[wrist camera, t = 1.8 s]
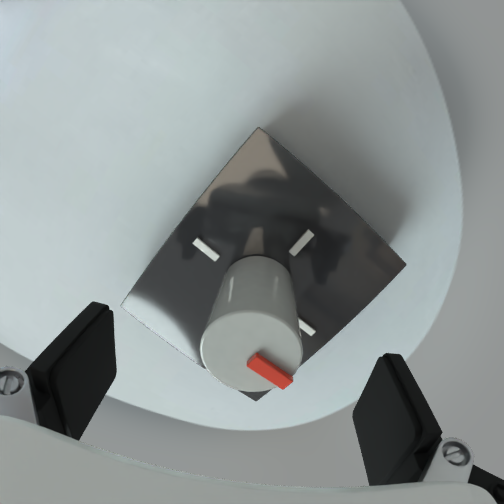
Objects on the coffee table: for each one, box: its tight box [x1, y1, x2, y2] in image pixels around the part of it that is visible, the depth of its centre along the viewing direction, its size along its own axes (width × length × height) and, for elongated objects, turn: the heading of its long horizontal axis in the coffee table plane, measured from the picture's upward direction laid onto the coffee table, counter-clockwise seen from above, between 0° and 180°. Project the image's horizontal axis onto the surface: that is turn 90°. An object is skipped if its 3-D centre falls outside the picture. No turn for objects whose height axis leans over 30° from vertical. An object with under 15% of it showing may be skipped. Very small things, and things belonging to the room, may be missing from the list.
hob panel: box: [121, 127, 406, 401], centre depth 17 cm, size 12×10×3 cm
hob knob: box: [200, 256, 303, 392], centre depth 13 cm, size 4×4×6 cm
